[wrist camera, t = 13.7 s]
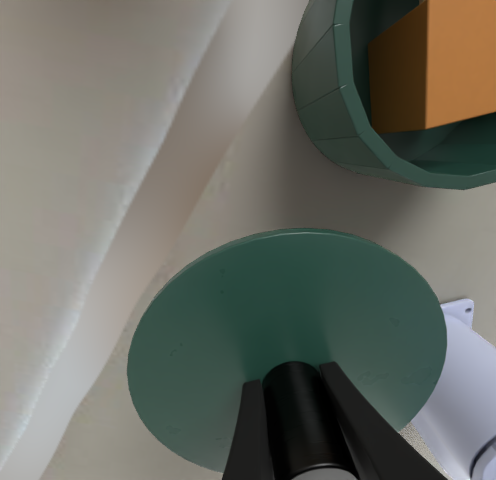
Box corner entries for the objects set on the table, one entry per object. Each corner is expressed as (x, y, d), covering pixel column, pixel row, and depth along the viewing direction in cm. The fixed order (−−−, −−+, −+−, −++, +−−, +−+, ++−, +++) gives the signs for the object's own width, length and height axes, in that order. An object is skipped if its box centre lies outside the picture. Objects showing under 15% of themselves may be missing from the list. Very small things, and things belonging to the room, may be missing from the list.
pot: (484, 149, 17) (627, 150, 11) (307, 193, 17) (350, 218, 11) (509, -103, 12) (773, -340, 6) (272, -39, 13) (311, -208, 7)
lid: (425, 421, 13) (518, 552, 9) (192, 475, 14) (174, 625, 9) (431, 183, 9) (622, 217, 4) (80, 271, 9) (-55, 382, 5)
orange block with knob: (427, 120, 15) (502, 110, 11) (371, 134, 16) (425, 130, 11) (430, -37, 13) (530, -129, 9) (363, -19, 13) (429, -102, 9)
